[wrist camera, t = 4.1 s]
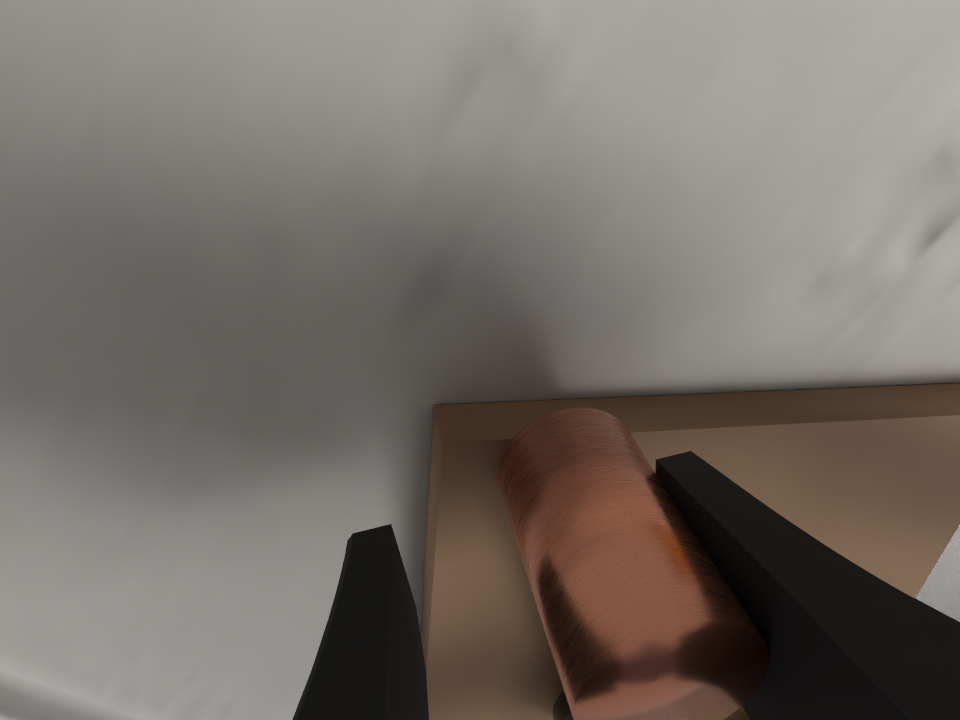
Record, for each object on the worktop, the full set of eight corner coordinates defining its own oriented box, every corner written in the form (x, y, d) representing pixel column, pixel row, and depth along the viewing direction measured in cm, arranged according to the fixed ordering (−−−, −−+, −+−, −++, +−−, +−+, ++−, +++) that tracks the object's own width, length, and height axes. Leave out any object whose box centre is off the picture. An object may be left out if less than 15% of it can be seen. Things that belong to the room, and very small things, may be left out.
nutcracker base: (782, 745, 23) (847, 856, 20) (410, 808, 20) (424, 947, 17) (981, 382, 15) (1132, 477, 12) (433, 404, 13) (463, 531, 10)
